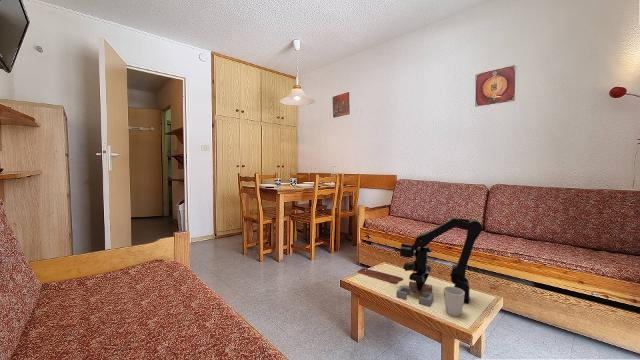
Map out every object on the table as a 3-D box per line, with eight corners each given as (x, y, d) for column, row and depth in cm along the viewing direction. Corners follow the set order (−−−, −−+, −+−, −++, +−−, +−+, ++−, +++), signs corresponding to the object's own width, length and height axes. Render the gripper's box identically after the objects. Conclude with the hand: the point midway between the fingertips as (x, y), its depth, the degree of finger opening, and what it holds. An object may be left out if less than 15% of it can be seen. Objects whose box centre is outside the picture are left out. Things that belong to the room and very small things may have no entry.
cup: (448, 306, 122) (449, 284, 122) (467, 314, 116) (468, 291, 115) (439, 311, 117) (440, 289, 117) (458, 320, 111) (459, 296, 110)
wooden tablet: (404, 280, 152) (404, 277, 152) (396, 285, 144) (396, 282, 144) (363, 268, 169) (363, 265, 169) (355, 272, 162) (355, 270, 162)
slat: (432, 292, 136) (432, 285, 136) (431, 295, 133) (431, 288, 133) (409, 287, 141) (409, 281, 141) (408, 290, 138) (408, 283, 138)
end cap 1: (396, 296, 130) (396, 290, 130) (401, 291, 136) (401, 285, 136) (406, 299, 128) (406, 293, 128) (410, 294, 134) (410, 288, 134)
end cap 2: (433, 300, 127) (433, 294, 127) (429, 306, 121) (429, 300, 121) (423, 297, 130) (423, 291, 130) (418, 303, 124) (419, 297, 124)
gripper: (410, 251, 149) (410, 279, 149) (399, 260, 133) (398, 291, 134) (431, 255, 142) (431, 284, 143) (422, 265, 127) (421, 297, 128)
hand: (420, 289), depth 137 cm, fingers closed on slat, 4 cm apart
